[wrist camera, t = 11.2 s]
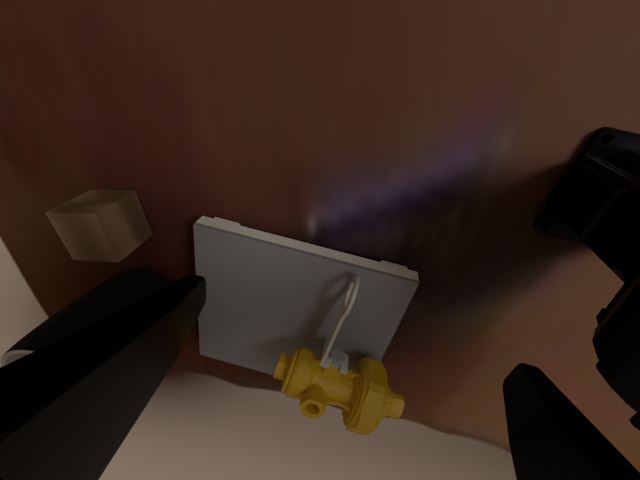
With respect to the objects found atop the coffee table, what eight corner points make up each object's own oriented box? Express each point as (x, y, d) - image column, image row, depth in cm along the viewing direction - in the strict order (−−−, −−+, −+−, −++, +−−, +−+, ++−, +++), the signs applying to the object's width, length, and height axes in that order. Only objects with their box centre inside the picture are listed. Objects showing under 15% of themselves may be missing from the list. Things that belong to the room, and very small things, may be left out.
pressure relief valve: (258, 417, 22) (389, 462, 22) (307, 285, 17) (475, 344, 17) (277, 360, 27) (384, 397, 27) (319, 244, 22) (449, 291, 22)
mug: (100, 246, 28) (-25, 335, 19) (195, 270, 27) (109, 373, 19) (125, 333, 34) (40, 427, 26) (201, 353, 34) (140, 456, 25)
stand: (416, 263, 23) (419, 283, 21) (362, 378, 31) (361, 400, 29) (208, 209, 23) (193, 224, 21) (211, 335, 32) (200, 354, 30)
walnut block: (135, 190, 24) (94, 213, 20) (153, 234, 26) (118, 262, 23) (91, 189, 24) (45, 212, 21) (112, 232, 27) (73, 259, 23)
